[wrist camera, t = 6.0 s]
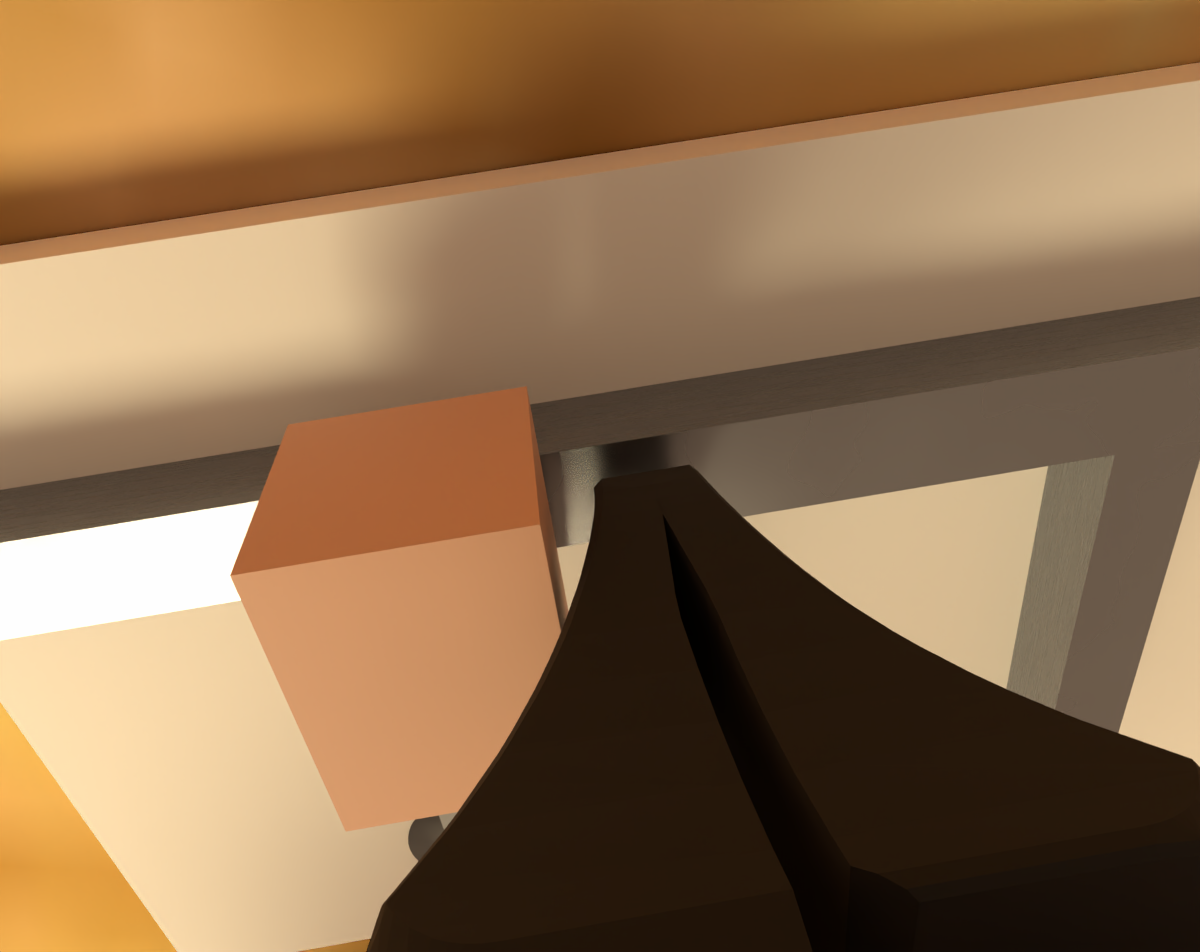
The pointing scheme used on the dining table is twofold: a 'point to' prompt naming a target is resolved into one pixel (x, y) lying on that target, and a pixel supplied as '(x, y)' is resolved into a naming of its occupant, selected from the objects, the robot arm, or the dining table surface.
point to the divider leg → (406, 595)
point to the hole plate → (553, 372)
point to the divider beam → (756, 480)
